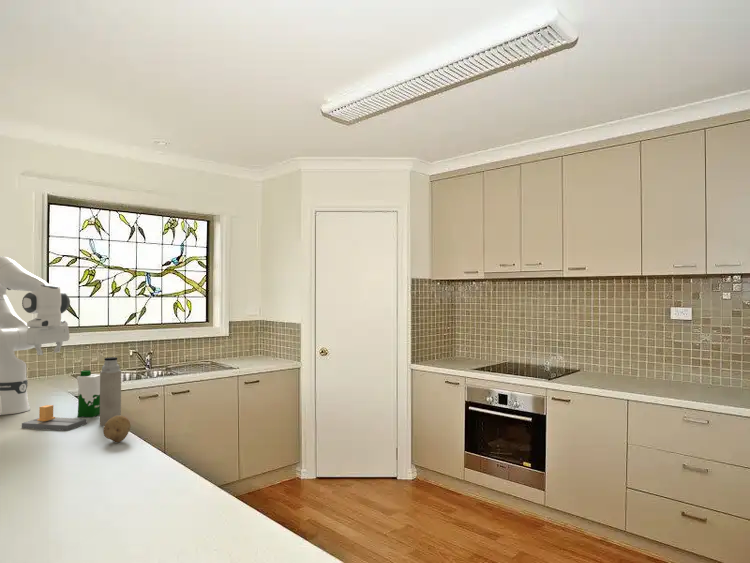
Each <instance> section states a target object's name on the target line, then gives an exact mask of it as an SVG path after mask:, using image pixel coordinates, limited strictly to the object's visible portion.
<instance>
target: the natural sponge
mask: <svg viewBox="0 0 750 563" xmlns="http://www.w3.org/2000/svg"><path fill="white" fill-rule="evenodd" d="M131 425H132V424H131V422H130V420H129V418H127V417H126V416H124V415H121V416H114V417H112V418H111V419H109V420H108V421H107V422H106V424H105V426H103V436H104V437H105V438H107V439H108V440H112V442H114V443H117V444H118V443H121V442H122V441H124V440H125V438H127V436H128V435H129V433H130V430H131Z"/></svg>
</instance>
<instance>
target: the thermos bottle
mask: <svg viewBox="0 0 750 563" xmlns="http://www.w3.org/2000/svg"><path fill="white" fill-rule="evenodd" d="M99 374H100V414H99V426H100V427H104V426H105V424H106V422H107V421H108V420H109V419H111V418H112V417H114V416H122V370H121V369H120V364H118V357H117V356H115V357H114V356H112V357H111V356H109V357H104V364H103V365H102V366H101V371H100V373H99Z"/></svg>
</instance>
